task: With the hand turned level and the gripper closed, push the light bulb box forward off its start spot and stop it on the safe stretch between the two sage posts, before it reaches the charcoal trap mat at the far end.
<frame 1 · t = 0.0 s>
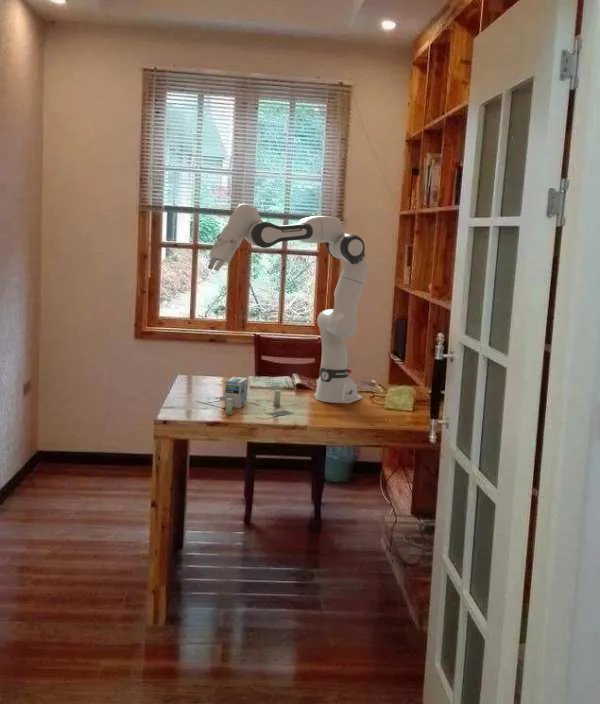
hand: (212, 269, 317), 54 cm above the table, tool tilted 30°, fingers open, 8 cm apart
trap lane: (244, 407, 321), on the table
light bulb box: (235, 405, 324), on the table
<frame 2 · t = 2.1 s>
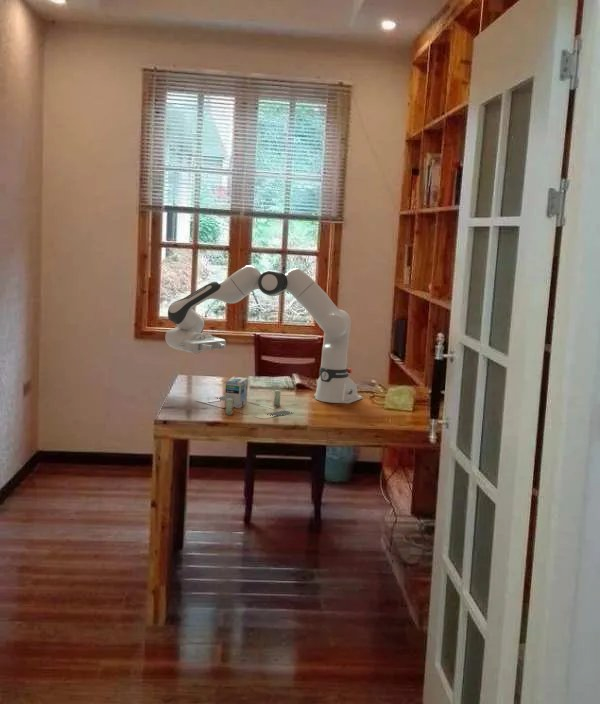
hand: (217, 347, 328), 22 cm above the table, tool horizontal, fingers open, 5 cm apart
nothing on the table moved.
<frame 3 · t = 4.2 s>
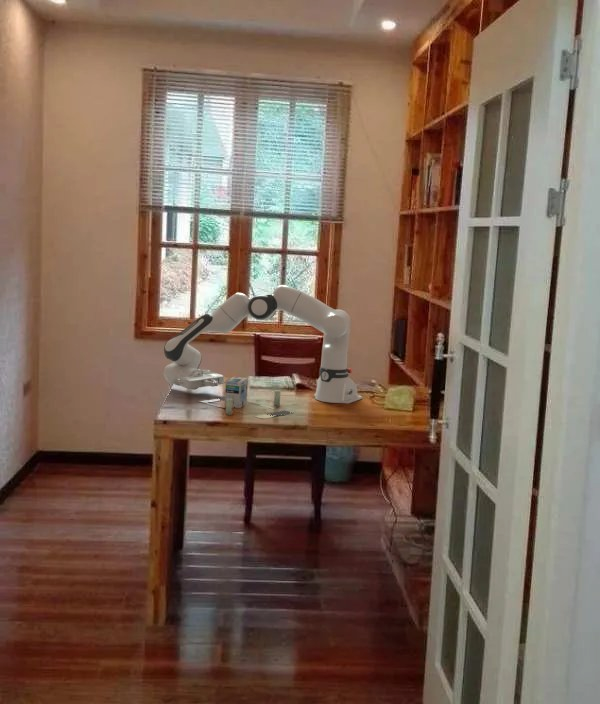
hand: (215, 384, 331), 6 cm above the table, tool horizontal, fingers closed
nothing on the table moved.
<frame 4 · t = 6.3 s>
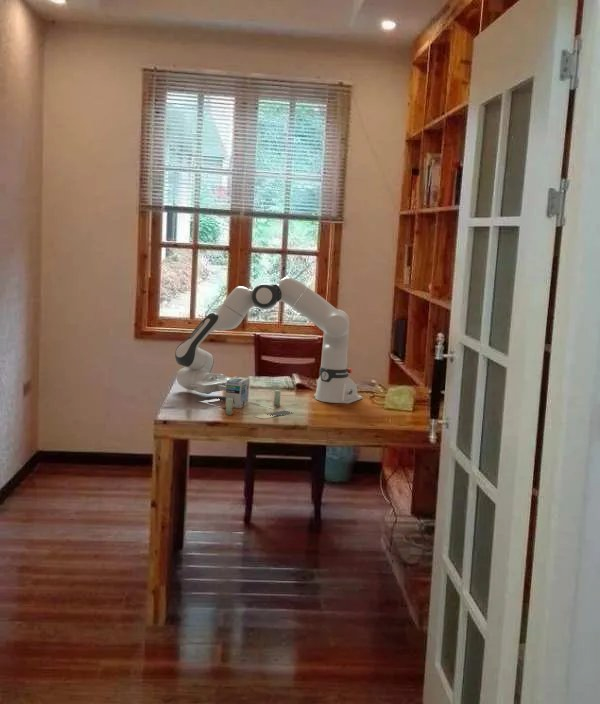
hand: (229, 388, 326), 6 cm above the table, tool horizontal, fingers closed
nothing on the table moved.
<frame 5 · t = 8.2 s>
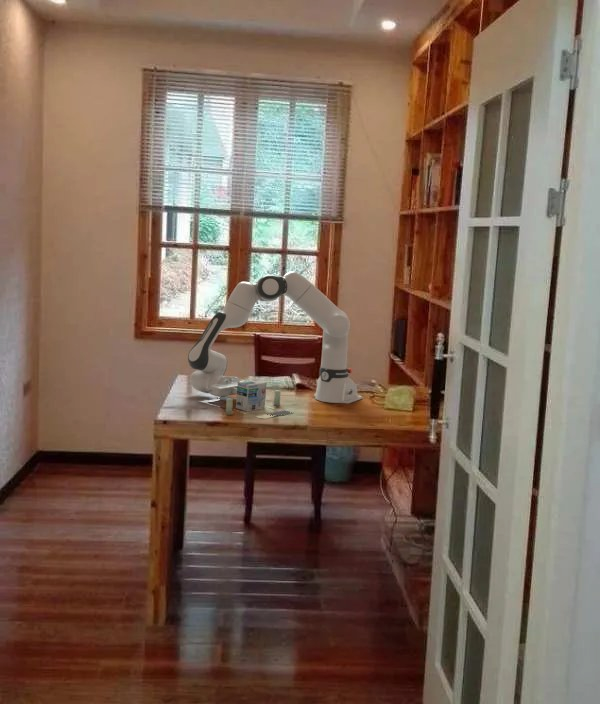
hand: (245, 391, 320), 6 cm above the table, tool horizontal, fingers closed, pressing on light bulb box
light bulb box: (250, 408, 319), on the table, touching gripper
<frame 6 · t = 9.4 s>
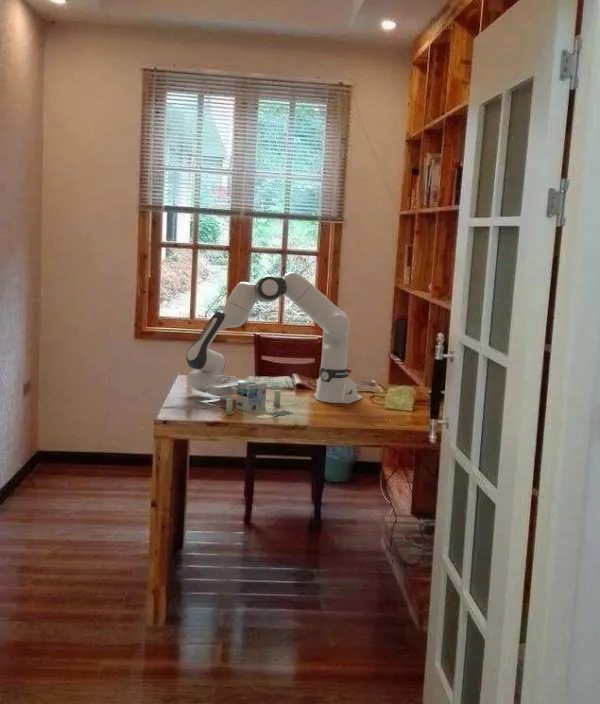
hand: (243, 391, 321), 6 cm above the table, tool horizontal, fingers closed
light bulb box: (250, 409, 319), on the table
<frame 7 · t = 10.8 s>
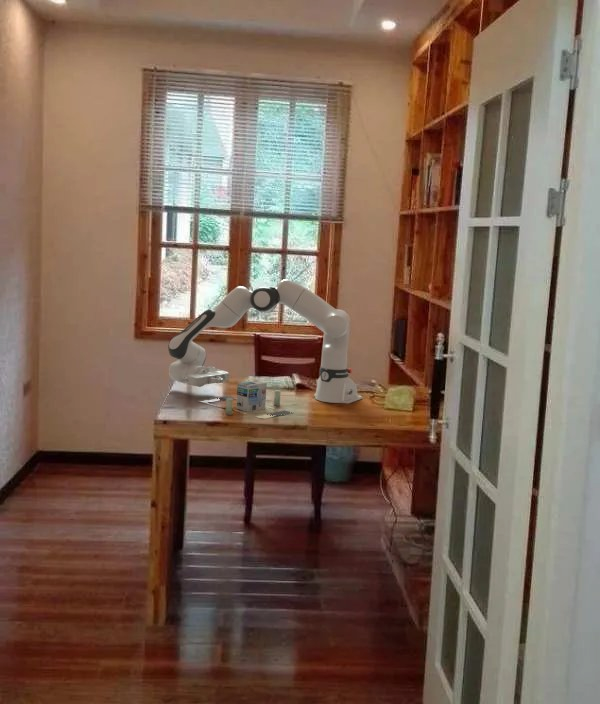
hand: (221, 381, 329), 8 cm above the table, tool horizontal, fingers closed
nothing on the table moved.
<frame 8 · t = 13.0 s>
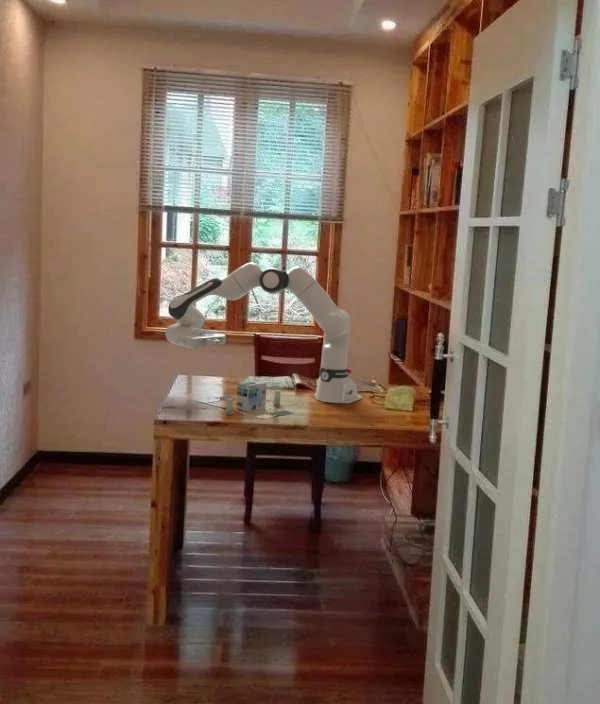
hand: (217, 342, 328), 24 cm above the table, tool horizontal, fingers closed
nothing on the table moved.
at the end: light bulb box 1.4 cm from the target spot, on the table; light bulb box tilted 0°; the gripper is holding nothing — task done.
